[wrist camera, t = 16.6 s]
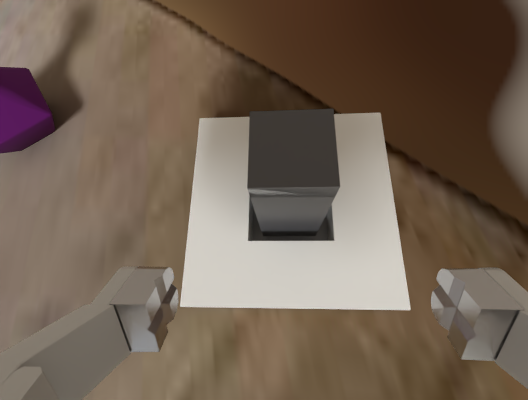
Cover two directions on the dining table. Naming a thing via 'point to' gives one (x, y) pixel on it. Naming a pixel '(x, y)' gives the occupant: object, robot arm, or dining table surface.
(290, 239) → the socket block
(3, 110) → the perfume bottle
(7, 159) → the dining table surface
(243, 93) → the dining table surface
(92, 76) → the dining table surface
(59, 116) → the dining table surface
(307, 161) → the plug
